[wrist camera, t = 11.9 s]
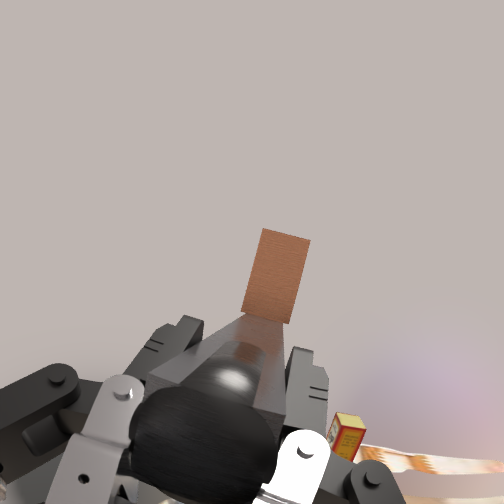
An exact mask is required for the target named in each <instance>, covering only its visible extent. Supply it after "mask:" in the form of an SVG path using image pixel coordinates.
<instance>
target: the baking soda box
mask: <svg viewBox="0 0 504 504" xmlns="http://www.w3.org/2000/svg"><path fill="white" fill-rule="evenodd" d="M365 432H366V428H365V426H364V424H363V423H362V421H361V419H360V418H359V416H355V415H350V414H344V413H339V412H336V414H335V416H334V419H333V422H332V424H331V427H330V430H329V432H328V435H327V437H326V441H327V443H328V445H329V447H330V449H331V450H332V451H333V452H334V453H335V454H337V455H338V456H340V457H342V458H344V459H346V460H348V461H351V462H353V460H354V458H355V455H356V453H357V451H358V449H359V446H360V444H361V442H362V439H363V437H364V434H365Z"/></svg>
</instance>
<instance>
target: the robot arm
mask: <svg viewBox="0 0 504 504" xmlns="http://www.w3.org/2000/svg"><path fill="white" fill-rule="evenodd" d="M203 327H204V321H203V320H200V319H196V318H193V317H190V316H187V315H184V316H183V317H182V318H181V320H180V321H179V322H178V324H177V325H176V326H174V325H171V324H166V325H164V326H162V327H160V328H158V329H156V331H155V332H154V333H153V335H152V336H151V337H150V339H149V340H148V341H147V342H146V344H145V345H144V348H142V349H141V350H140V352H139V353H138V354H137V356H136V357H135V358H134V360H133V361H132V362H131V364H130V365H129V366H128V368H127V369H126V370H125V372H124V373H123V374H122V375H114V376H112V377H110V378H108V379H107V380H105V381H104V382H95V381H89V380H83V379H79V378H78V375H77V373H76V371H75V370H74V369H73V368H72V367H71V366H68V365H66V364H61V363H56V364H51V365H49V366H47V367H45V368H43V369H40V370H38V371H36V372H35V373H32V374H30V375H28V376H27V377H24V378H22V379H20V380H18V381H16V382H14V383H12V384H10V385H8V386H6V387H4V388H2V389H0V502H3V501H4V500H5V499H6V490H7V487H6V485H7V484H9V483H11V482H12V481H14V480H16V479H18V478H19V477H22V476H23V475H25V474H27V473H29V472H30V471H32V470H34V469H36V468H37V467H39V466H41V465H43V464H44V463H46V462H48V461H49V460H51V459H53V458H54V457H56V456H58V455H60V454H61V453H63V452H64V455H63V457H62V460H61V462H60V465H59V467H58V470H57V472H56V475H55V478H54V480H53V483H52V486H51V488H50V491H49V494H48V497H47V500H46V501H45V502H42V503H38V504H137V498H138V483H139V480H137V479H135V478H133V477H130V468H131V462H132V453H131V439H129V436H128V433H129V425H130V421H131V418H132V415H133V413H134V411H135V410H136V408H137V406H138V405H139V404H140V403H141V402H142V399H143V394H144V389H145V384H146V380H147V375H148V372H150V371H152V370H153V369H155V368H157V367H159V366H160V365H162V364H164V363H165V362H167V361H169V360H171V359H172V358H174V357H176V356H177V355H179V354H181V353H182V352H184V351H186V350H187V349H189V348H191V347H192V346H194V345H196V344H197V343H199V342H201V341H202V336H203ZM312 362H313V351H311V350H308V349H303V348H299V347H295V346H294V347H293V349H292V352H291V354H290V357H289V360H288V363H287V366H286V369H285V392H286V418H285V421H284V423H283V426H282V429H281V432H280V435H279V448H278V464H277V468H276V472H275V475H274V477H273V479H272V481H271V482H270V483H269V485H268V484H263V485H262V486H261V488H260V490H259V492H258V493H257V495H256V497H255V499H254V500H253V502H252V504H406V502H405V500H404V498H403V496H402V494H401V492H400V490H399V488H398V485H397V483H396V481H395V479H394V477H393V475H392V473H391V471H390V469H389V468H388V467H387V466H386V465H385V464H383V463H381V462H379V461H376V460H364V461H361V462H359V463H358V464H355V463H353V462H351V461H348V460H346V459H344V458H342V457H340V456H338V455H337V454H335V453H334V452H333V451H332V450H331V449H330V447H329V445H328V443H327V441H326V420H327V403H328V402H327V400H328V385H329V378H328V376H327V374H326V372H325V370H324V368H323V367H318V366H314V365H312Z"/></svg>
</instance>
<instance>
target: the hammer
mask: <svg viewBox="0 0 504 504" xmlns="http://www.w3.org/2000/svg"><path fill="white" fill-rule="evenodd" d="M309 244H310V240H307V239H303V238H299V237H296V236H291V235H287V234H284V233H280V232H276V231H272V230H268V229H264V228H263V230H262V234H261V238H260V241H259V245H258V249H257V253H256V256H255V260H254V264H253V267H252V271H251V275H250V279H249V282H248V286H247V290H246V294H245V297H244V301H243V305H242V308H241V312H245V313H246V314H245V315H243V316H241V317H240V318H238V319H236V320H235V321H233V322H232V323H230V324H228V325H227V326H225V327H224V328H222V329H220V330H219V331H217V332H215V333H214V334H212V335H211V336H209V337H207V338H206V339H204V340H202V341H201V342H199V343H197V344H196V345H194V346H192V347H191V348H189V349H187V350H186V351H184V352H182V353H181V354H179V355H177V356H176V357H174V358H172V359H171V360H169V361H167V362H165V363H164V364H162V365H160V366H159V367H157V368H155V369H153V370H152V371H150V372H148V375H147V380H146V384H145V389H144V394H143V399H142V402H141V403H140V404H139V405H138V406H137V408H136V410H135V411H134V413H133V415H132V418H131V421H130V425H129V433H128V436H129V439H131V453H132V462H131V468H130V477H133V478H135V479H137V480H139V481H142V482H144V483H147V484H149V485H151V486H154V487H156V488H157V489H159V490H160V491H161V492H163V493H164V494H166V495H167V496H169V497H171V498H173V499H175V500H177V501H179V502H182V503H185V504H252V502H253V500H254V499H255V497H256V495H257V493H258V492H259V490H260V488H261V486H262V485H263V484H268V485H269V483H270V482H271V481H272V479H273V477H274V475H275V472H276V468H277V464H278V448H279V435H280V432H281V429H282V426H283V423H284V421H285V418H286V392H285V365H284V342H283V323H286V324H289V321H290V317H291V314H292V310H293V306H294V303H295V299H296V295H297V291H298V287H299V284H300V280H301V276H302V272H303V268H304V264H305V260H306V256H307V252H308V248H309Z"/></svg>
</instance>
